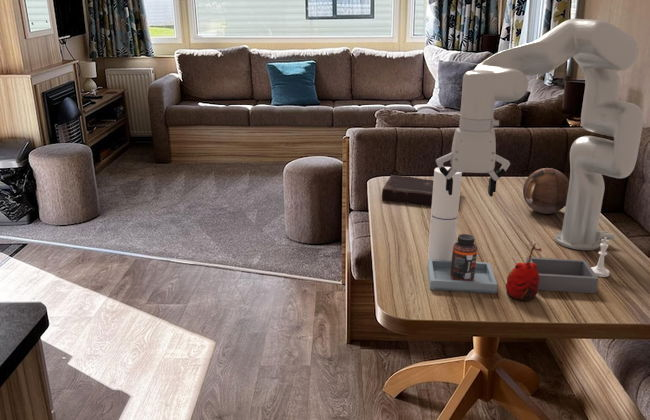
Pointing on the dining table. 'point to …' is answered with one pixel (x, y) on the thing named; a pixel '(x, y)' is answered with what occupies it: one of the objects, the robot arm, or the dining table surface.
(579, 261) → the dock
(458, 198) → the cylindrical container
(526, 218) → the dining table surface
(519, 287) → the red clay folk toy
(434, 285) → the tray
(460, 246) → the supplement bottle
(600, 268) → the chess piece
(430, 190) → the diary
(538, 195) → the reflective sphere
